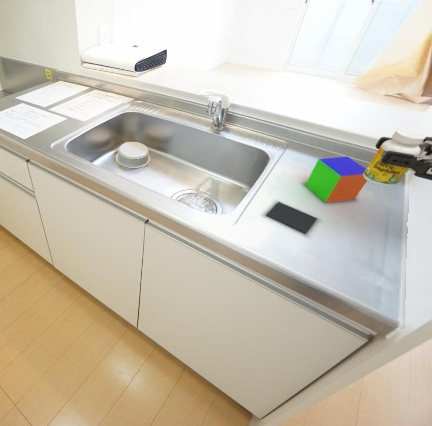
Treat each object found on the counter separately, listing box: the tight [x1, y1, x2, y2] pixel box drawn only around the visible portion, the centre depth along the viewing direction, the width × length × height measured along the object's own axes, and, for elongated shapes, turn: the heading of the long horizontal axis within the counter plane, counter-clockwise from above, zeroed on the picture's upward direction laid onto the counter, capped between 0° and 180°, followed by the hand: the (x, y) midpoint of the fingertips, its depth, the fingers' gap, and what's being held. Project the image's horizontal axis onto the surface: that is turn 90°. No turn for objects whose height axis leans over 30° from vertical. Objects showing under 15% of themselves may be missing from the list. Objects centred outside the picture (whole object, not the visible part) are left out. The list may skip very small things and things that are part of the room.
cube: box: [304, 156, 368, 203], centre depth 72 cm, size 8×8×8 cm
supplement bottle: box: [363, 128, 427, 187], centre depth 52 cm, size 5×5×10 cm
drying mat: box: [266, 201, 318, 235], centre depth 67 cm, size 9×7×1 cm
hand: (381, 149), depth 52 cm, fingers closed on supplement bottle, 5 cm apart
